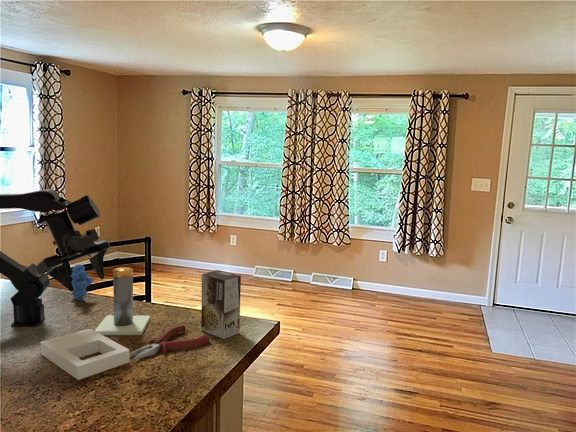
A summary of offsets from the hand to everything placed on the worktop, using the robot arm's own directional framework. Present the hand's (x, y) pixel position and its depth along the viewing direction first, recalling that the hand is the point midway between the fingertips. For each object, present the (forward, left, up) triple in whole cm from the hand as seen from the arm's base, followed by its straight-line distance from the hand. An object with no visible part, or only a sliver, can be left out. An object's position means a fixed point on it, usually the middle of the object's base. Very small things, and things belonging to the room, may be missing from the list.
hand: (88, 284), depth 127 cm
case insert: (+5, -20, -12) cm, 24 cm away
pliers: (+22, -12, -12) cm, 28 cm away
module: (+9, 0, -11) cm, 14 cm away
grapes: (-9, +23, -12) cm, 27 cm away
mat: (+9, 0, -12) cm, 15 cm away
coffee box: (+36, -4, -12) cm, 38 cm away
